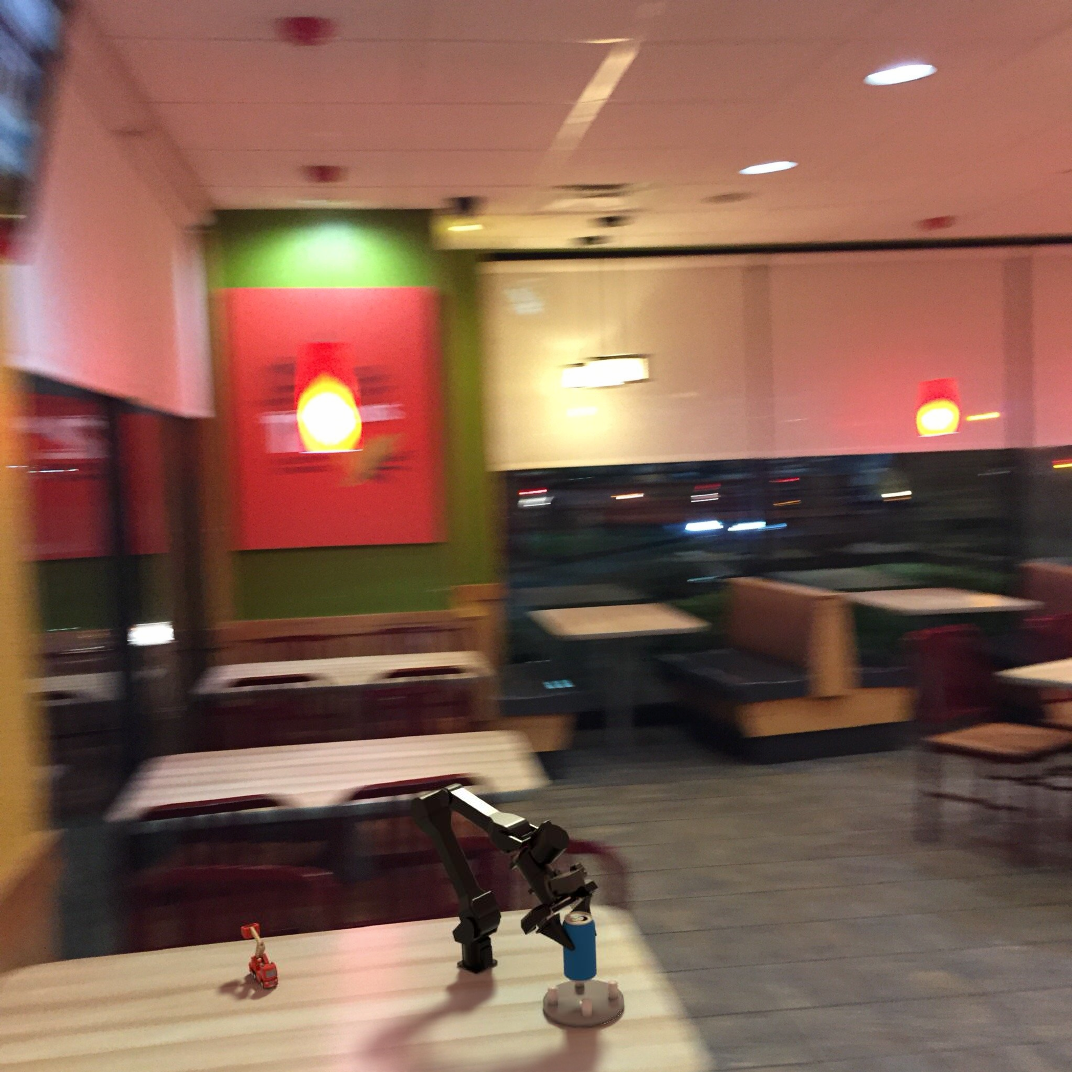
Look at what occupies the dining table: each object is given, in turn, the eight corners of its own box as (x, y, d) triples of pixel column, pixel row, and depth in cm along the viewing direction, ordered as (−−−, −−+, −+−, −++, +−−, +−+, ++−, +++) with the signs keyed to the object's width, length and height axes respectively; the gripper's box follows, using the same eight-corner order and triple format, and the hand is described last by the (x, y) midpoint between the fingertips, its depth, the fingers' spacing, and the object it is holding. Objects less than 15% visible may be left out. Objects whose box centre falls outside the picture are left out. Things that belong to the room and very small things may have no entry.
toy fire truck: (264, 991, 218) (261, 946, 217) (243, 966, 229) (240, 924, 229) (280, 986, 220) (277, 942, 219) (258, 962, 231) (255, 920, 231)
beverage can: (600, 981, 203) (599, 922, 202) (569, 987, 201) (566, 927, 201) (591, 966, 209) (589, 908, 208) (560, 971, 208) (558, 913, 207)
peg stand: (526, 1010, 205) (525, 990, 205) (576, 977, 217) (575, 957, 217) (591, 1036, 195) (590, 1015, 194) (640, 1000, 207) (639, 980, 207)
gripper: (529, 869, 199) (576, 941, 193) (589, 839, 213) (635, 905, 207) (500, 899, 205) (545, 969, 199) (561, 868, 219) (605, 933, 212)
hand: (584, 943), depth 204 cm, fingers closed on beverage can, 6 cm apart
